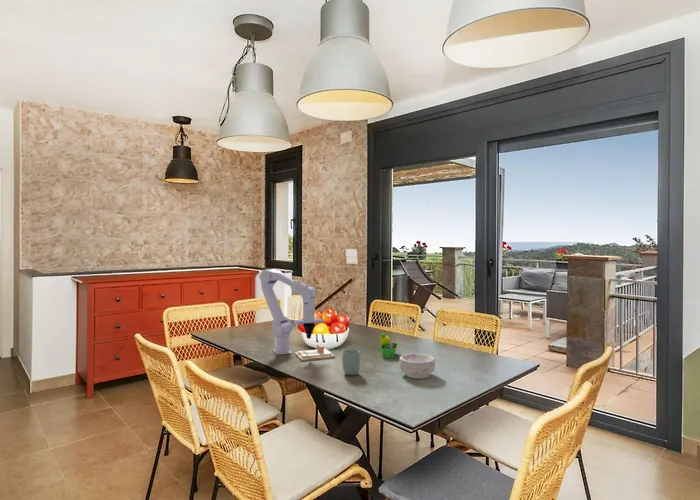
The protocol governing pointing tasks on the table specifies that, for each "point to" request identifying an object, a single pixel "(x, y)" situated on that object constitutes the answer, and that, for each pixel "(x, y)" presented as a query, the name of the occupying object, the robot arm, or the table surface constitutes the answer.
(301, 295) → the robot arm
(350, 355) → the cup
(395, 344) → the fruit basket
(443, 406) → the table surface
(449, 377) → the table surface
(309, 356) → the board
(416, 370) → the pale mottled bowl
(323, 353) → the pinkish brown block
